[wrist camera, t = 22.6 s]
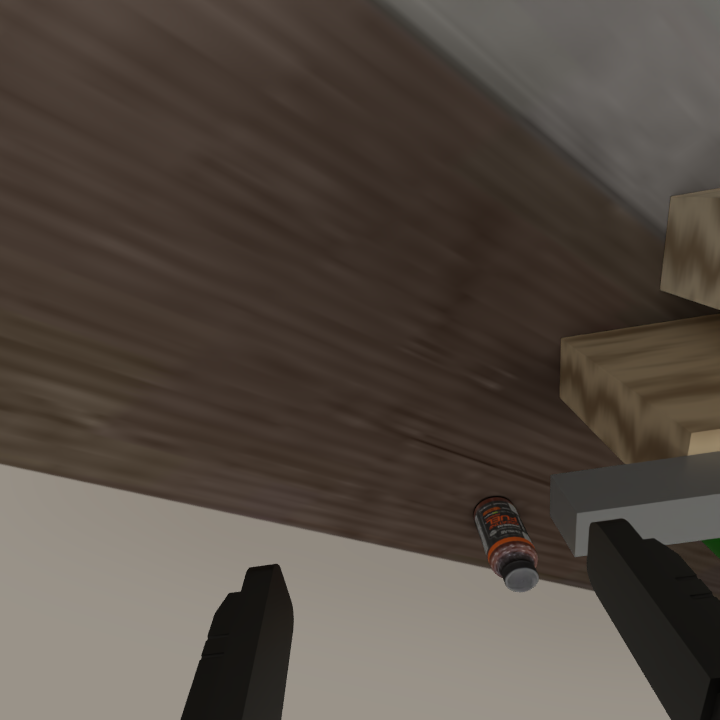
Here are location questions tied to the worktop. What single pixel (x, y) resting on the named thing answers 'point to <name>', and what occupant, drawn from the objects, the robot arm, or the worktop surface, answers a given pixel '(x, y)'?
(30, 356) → the worktop surface
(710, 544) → the motor
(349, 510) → the worktop surface
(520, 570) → the supplement bottle
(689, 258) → the stand
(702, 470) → the grey and tan bar
